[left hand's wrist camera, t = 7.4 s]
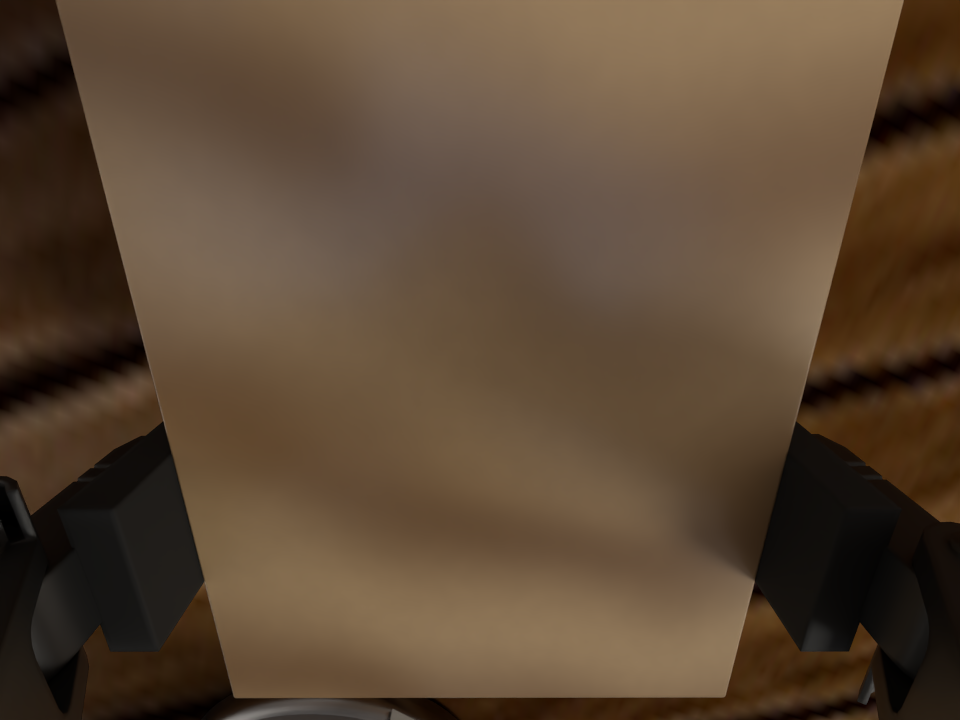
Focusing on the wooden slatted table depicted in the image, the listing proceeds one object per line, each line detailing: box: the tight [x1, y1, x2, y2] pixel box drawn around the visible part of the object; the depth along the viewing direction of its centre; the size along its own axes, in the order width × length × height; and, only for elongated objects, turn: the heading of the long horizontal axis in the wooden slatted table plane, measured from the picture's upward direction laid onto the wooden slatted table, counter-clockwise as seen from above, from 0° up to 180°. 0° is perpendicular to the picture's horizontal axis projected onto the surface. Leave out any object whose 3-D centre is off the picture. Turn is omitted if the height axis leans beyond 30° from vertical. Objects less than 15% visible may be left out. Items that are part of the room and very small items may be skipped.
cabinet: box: [56, 0, 904, 698], centre depth 11 cm, size 21×10×9 cm, turn 0°
